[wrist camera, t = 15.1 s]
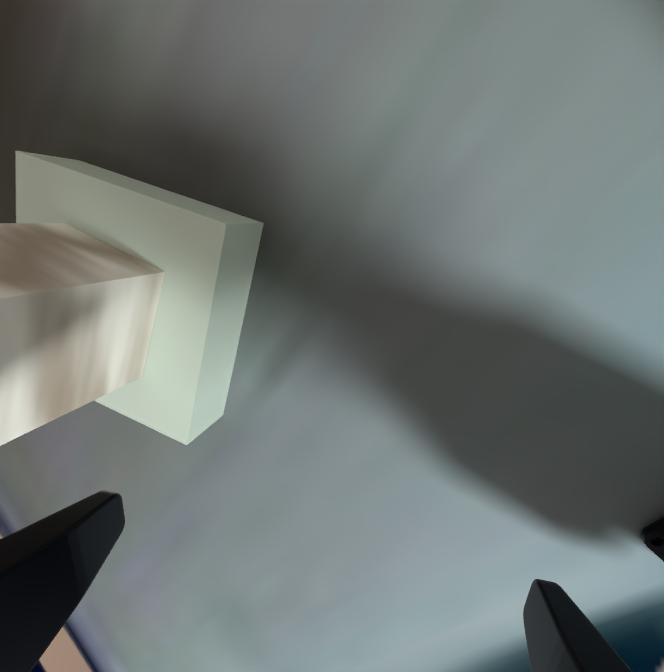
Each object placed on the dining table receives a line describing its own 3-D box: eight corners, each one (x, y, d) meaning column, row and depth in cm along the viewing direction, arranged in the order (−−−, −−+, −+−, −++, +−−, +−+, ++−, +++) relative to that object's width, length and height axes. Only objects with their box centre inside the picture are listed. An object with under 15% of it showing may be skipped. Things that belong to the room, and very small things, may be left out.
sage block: (267, 223, 21) (226, 223, 17) (226, 412, 25) (186, 445, 21) (86, 161, 23) (15, 150, 19) (76, 343, 27) (17, 363, 24)
